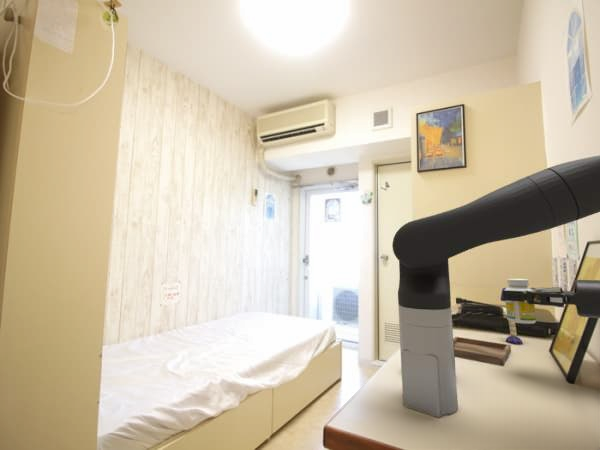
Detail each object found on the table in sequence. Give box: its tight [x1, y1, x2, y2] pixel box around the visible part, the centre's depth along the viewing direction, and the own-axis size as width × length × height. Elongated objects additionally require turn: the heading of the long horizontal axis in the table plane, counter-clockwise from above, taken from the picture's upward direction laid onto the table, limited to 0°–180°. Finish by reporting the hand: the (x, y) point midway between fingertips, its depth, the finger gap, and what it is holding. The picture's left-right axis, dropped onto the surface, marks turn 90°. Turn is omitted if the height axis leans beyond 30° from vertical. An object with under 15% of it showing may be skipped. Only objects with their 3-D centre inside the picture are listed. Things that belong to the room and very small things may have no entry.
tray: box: [453, 336, 512, 367], centre depth 81 cm, size 15×14×2 cm
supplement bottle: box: [504, 278, 537, 325], centre depth 67 cm, size 5×5×10 cm
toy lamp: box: [500, 287, 524, 345], centre depth 92 cm, size 5×5×17 cm
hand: (505, 294), depth 69 cm, fingers closed on supplement bottle, 5 cm apart
